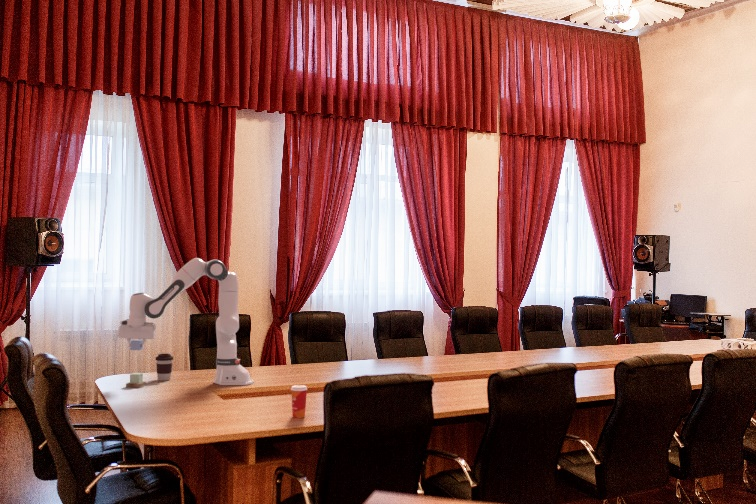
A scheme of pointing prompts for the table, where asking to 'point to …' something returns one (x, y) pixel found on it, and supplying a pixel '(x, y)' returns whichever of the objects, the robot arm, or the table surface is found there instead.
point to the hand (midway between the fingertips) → (136, 346)
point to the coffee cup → (164, 366)
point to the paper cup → (298, 400)
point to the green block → (136, 378)
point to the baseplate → (135, 385)
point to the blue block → (136, 345)
